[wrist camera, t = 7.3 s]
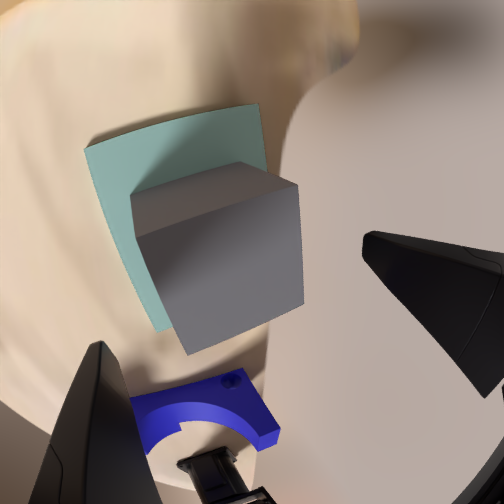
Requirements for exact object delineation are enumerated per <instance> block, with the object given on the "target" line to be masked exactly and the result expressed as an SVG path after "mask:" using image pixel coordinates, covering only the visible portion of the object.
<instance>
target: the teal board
mask: <svg viewBox="0 0 504 504" xmlns="http://www.w3.org/2000/svg"><path fill="white" fill-rule="evenodd" d="M84 152H85V156H86V159H87V163H88V166H89V170H90V173H91V177H92V180H93V183H94V186H95V189H96V192H97V195H98V198H99V201H100V204H101V207H102V210H103V213H104V216H105V218H106V221H107V224H108V227H109V229H110V232H111V234H112V237H113V239H114V242H115V244H116V247H117V249H118V252H119V254H120V257H121V259H122V261H123V264H124V266H125V268H126V271H127V273H128V275H129V277H130V279H131V282H132V284H133V286H134V288H135V290H136V292H137V294H138V297H139V299H140V301H141V303H142V305H143V307H144V309H145V311H146V313H147V315H148V317H149V319H150V321H151V323H152V324H153V326H154V328H155V330H156V332H157V333H158V332H160V331H163V330H166V329H168V328H171V327H173V325H172V323H171V321H170V319H169V317H168V315H167V313H166V311H165V308H164V306H163V304H162V302H161V300H160V297H159V295H158V293H157V290H156V288H155V286H154V283H153V281H152V279H151V276H150V274H149V272H148V269H147V267H146V264H145V262H144V259H143V257H142V254H141V251H140V249H139V246H138V244H137V241H136V238H135V232H134V225H133V218H132V210H131V201H130V195H131V194H134V193H137V192H140V191H142V190H145V189H148V188H151V187H154V186H157V185H160V184H163V183H166V182H169V181H172V180H176V179H179V178H182V177H185V176H189V175H192V174H195V173H199V172H202V171H206V170H209V169H213V168H216V167H220V166H224V165H227V164H231V163H235V162H239V161H241V162H243V163H246V164H249V165H251V166H254V167H256V168H259V169H261V170H264V171H266V172H267V164H266V156H265V148H264V141H263V133H262V126H261V118H260V111H259V104H250V105H243V106H237V107H231V108H225V109H220V110H214V111H209V112H204V113H200V114H195V115H191V116H186V117H182V118H178V119H174V120H170V121H166V122H162V123H159V124H155V125H152V126H148V127H145V128H141V129H138V130H135V131H132V132H129V133H125V134H122V135H119V136H117V137H114V138H111V139H108V140H105V141H102V142H100V143H97V144H94V145H92V146H89V147H87V148H85V149H84Z"/></svg>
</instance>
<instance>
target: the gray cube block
mask: <svg viewBox="0 0 504 504" xmlns="http://www.w3.org/2000/svg"><path fill="white" fill-rule="evenodd" d="M130 201H131V210H132V218H133V225H134V232H135V238H136V241H137V244H138V246H139V249H140V251H141V254H142V257H143V259H144V262H145V264H146V267H147V269H148V272H149V274H150V276H151V279H152V281H153V283H154V286H155V288H156V290H157V293H158V295H159V297H160V300H161V302H162V304H163V306H164V308H165V311H166V313H167V315H168V317H169V319H170V321H171V323H172V325H173V328H174V330H175V332H176V334H177V336H178V338H179V340H180V342H181V344H182V346H183V348H184V350H185V352H186V354H187V355H191V354H193V353H196V352H198V351H201V350H203V349H206V348H208V347H211V346H213V345H215V344H218V343H220V342H222V341H225V340H227V339H230V338H232V337H234V336H236V335H239V334H241V333H243V332H246V331H248V330H250V329H252V328H255V327H257V326H259V325H261V324H263V323H265V322H268V321H270V320H272V319H274V318H276V317H278V316H280V315H283V314H285V313H286V312H289V311H291V310H293V309H295V308H297V307H299V306H301V305H303V304H304V286H303V261H302V240H301V224H300V207H299V194H298V185H297V184H295V183H292V182H290V181H288V180H285V179H283V178H281V177H278V176H276V175H273V174H271V173H269V172H266V171H264V170H261V169H259V168H256V167H254V166H251V165H249V164H246V163H243V162H241V161H239V162H235V163H231V164H227V165H224V166H220V167H216V168H213V169H209V170H206V171H202V172H199V173H195V174H192V175H189V176H185V177H182V178H179V179H176V180H172V181H169V182H166V183H163V184H160V185H157V186H154V187H151V188H148V189H145V190H142V191H140V192H137V193H134V194H131V195H130Z"/></svg>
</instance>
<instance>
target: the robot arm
mask: <svg viewBox="0 0 504 504" xmlns="http://www.w3.org/2000/svg"><path fill="white" fill-rule="evenodd" d="M362 257H363V259H364V261H365V262H366V263H367V264H368V265H369V267H370V268H371V269H372V270H373V271H374V273H375V274H376V275H377V276H378V277H379V279H380V280H381V281H382V282H383V284H384V285H385V286H386V287H387V288H388V289H389V290H390V291H391V293H392V294H393V295H394V296H395V297H397V299H398V300H399V301H400V302H401V303H402V304H403V305H404V306H405V307H406V308H407V309H408V310H409V311H410V312H411V314H412V315H413V316H414V317H415V318H416V319H417V320H418V321H419V322H420V323H421V324H422V325H423V326H424V328H425V329H426V330H427V331H428V332H429V333H430V334H431V335H432V337H433V338H434V339H435V340H436V341H437V342H438V343H439V344H440V346H441V347H442V348H443V349H444V350H445V351H446V353H447V354H448V355H449V356H450V357H451V358H452V360H453V361H454V362H455V363H456V365H457V366H458V367H459V368H460V369H461V371H462V372H463V373H464V374H465V376H466V377H467V378H468V379H469V381H470V382H471V383H472V384H473V386H474V387H475V388H476V389H477V391H478V392H479V393H480V395H481V396H482V397H483V398H486V397H487V396H488V395H489V394H490V392H492V390H493V389H494V388H495V387H496V386H497V385H498V384H499V383H500V381H501V380H502V379H503V378H504V253H500V252H493V251H486V250H481V249H476V248H470V247H465V246H460V245H455V244H449V243H444V242H438V241H433V240H427V239H422V238H416V237H411V236H405V235H398V234H392V233H386V232H380V231H371V232H368V233H366V234H365V235H364V237H363V247H362ZM502 393H503V400H504V384H503V386H502ZM236 461H237V459H236V457H235V456H234V455H233V454H232V453H231V451H230V450H229V449H228V448H227V447H223V448H220V449H217V450H215V451H212V452H209V453H207V454H204V455H201V456H198V457H195V458H192V459H189V460H186V461H183V462H180V463H177V464H176V465H177V467H178V468H179V469H181V470H183V471H184V472H186V473H188V474H189V475H190V478H191V480H192V482H193V484H194V487H195V489H196V491H197V493H198V495H199V497H200V499H201V502H202V504H243V503H245V502H248V501H251V500H254V499H257V500H256V501H253V502H250V503H247V504H277V503H276V502H275V501H274V500H273V498H272V497H271V496H270V495H269V493H268V492H267V491H266V490H265V488H264V487H263V486H261V487H258V489H255V490H252V491H249V490H248V488H247V486H246V485H245V483H244V481H243V479H242V478H241V476H240V474H239V472H238V470H237V468H236V467H235V465H234V462H236ZM28 504H163V503H162V501H161V498H160V496H159V493H158V490H157V488H156V485H155V483H154V479H153V477H152V474H151V471H150V468H149V465H148V462H147V458H146V455H145V452H144V448H143V445H142V441H141V438H140V434H139V430H138V427H137V423H136V418H135V414H134V411H133V407H132V404H131V401H130V398H129V395H128V392H127V389H126V386H125V383H124V379H123V376H122V373H121V369H120V366H119V363H118V360H117V359H116V357H115V356H114V354H113V353H112V352H111V350H110V349H109V347H108V346H107V345H106V343H105V342H104V341H101V340H100V341H97V342H95V343H92V344H90V346H89V347H88V349H87V351H86V354H85V356H84V358H83V360H82V362H81V364H80V366H79V368H78V371H77V373H76V375H75V377H74V380H73V382H72V384H71V387H70V389H69V391H68V394H67V396H66V398H65V401H64V403H63V406H62V408H61V411H60V414H59V416H58V419H57V421H56V424H55V427H54V430H53V432H52V435H51V438H50V444H48V447H47V450H46V453H45V456H44V459H43V462H42V465H41V468H40V472H39V474H38V477H37V480H36V483H35V485H34V488H33V491H32V494H31V497H30V500H29V503H28ZM452 504H504V437H503V439H502V440H501V442H500V444H499V445H498V447H497V448H496V449H495V451H494V452H493V454H492V455H491V457H490V458H489V459H488V461H487V462H486V463H485V465H484V466H483V468H482V469H481V470H480V471H479V473H478V474H477V475H476V477H475V478H474V479H473V480H472V481H471V483H470V484H469V485H468V486H467V487H466V489H465V490H464V491H463V492H462V493H461V494H460V495H459V496H458V498H457V499H456V500H455V501H454V502H453V503H452Z"/></svg>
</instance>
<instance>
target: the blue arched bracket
mask: <svg viewBox="0 0 504 504" xmlns="http://www.w3.org/2000/svg"><path fill="white" fill-rule="evenodd" d="M130 401H131V404H132V407H133V411H134V414H135V418H136V423H137V427H138V430H139V434H140V438H141V441H142V445H143V448H144V452H145V455H148V453H149V452H150V451H151V449H152V448H153V447H154V446H155V445H156V444H157V443H158V442H159V441H161V440H162V439H163V438H165V437H167V436H169V435H171V434H173V433H176V432H178V431H182V430H181V427H180V425H179V423H180V422H186V421H209V422H214V423H218V424H222V425H225V426H227V427H229V428H232V429H233V430H235V431H237V432H239V433H240V434H242V435H243V436H244V437H245V438H247V439H248V440H249V441H250V442H251V443H252V445H253V446H254V447H255V449H256V450H257V452H259V451H261V450H264V449H266V448H268V447H271V446H273V445H275V444H277V440H278V437H279V433H280V426H279V425H278V424H277V422H276V421H275V419H274V417H273V416H272V414H271V413H270V411H269V410H268V408H267V407H266V405H265V403H264V402H263V400H262V399H261V397H260V395H259V394H258V392H257V390H256V389H255V387H254V386H253V384H252V382H251V381H250V379H249V377H248V376H247V374H246V372H245V371H244V369H243V368H240V369H237V370H234V371H231V372H228V373H225V374H221V375H218V376H215V377H211V378H208V379H205V380H201V381H198V382H194V383H190V384H187V385H183V386H179V387H175V388H171V389H167V390H163V391H159V392H155V393H150V394H146V395H141V396H136V397H131V398H130Z"/></svg>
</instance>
